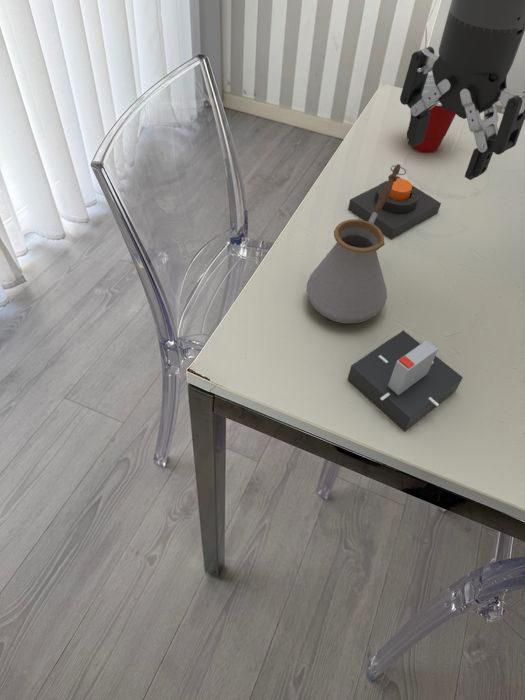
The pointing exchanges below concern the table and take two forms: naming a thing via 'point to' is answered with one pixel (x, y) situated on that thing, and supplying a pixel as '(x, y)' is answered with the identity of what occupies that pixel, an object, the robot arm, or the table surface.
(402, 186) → the power button
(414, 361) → the timer knob
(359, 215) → the block
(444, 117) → the plastic cup
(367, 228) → the coffee pot
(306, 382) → the table surface
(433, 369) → the timer panel
